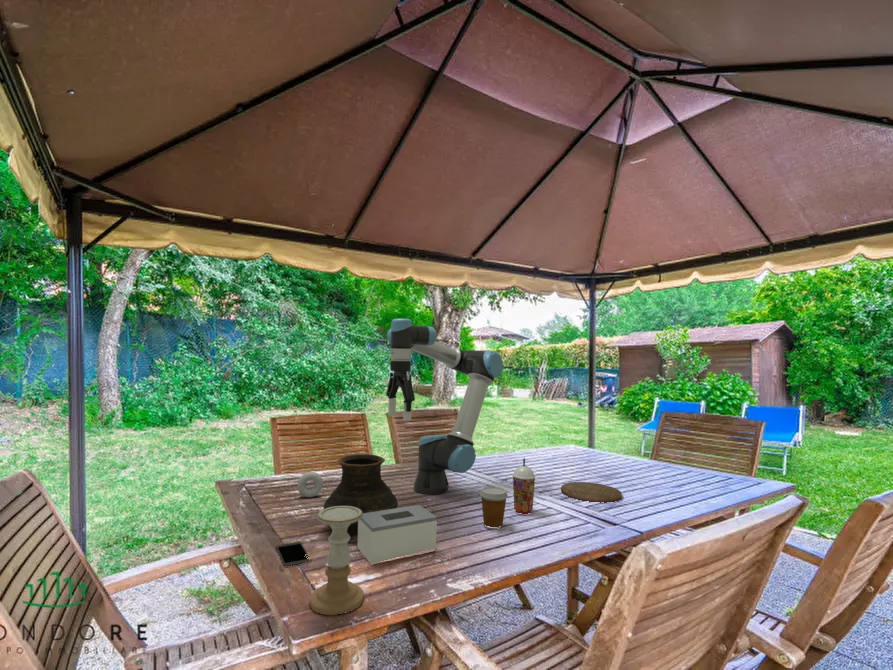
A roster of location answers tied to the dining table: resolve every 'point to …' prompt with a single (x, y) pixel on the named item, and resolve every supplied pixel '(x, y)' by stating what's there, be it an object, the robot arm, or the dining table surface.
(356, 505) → the ceramic pot
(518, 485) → the smoothie
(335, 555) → the candle holder
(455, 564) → the dining table surface
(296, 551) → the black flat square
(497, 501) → the disposable coffee cup
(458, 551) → the dining table surface
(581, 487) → the trivet
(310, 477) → the donut
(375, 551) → the box
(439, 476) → the robot arm
